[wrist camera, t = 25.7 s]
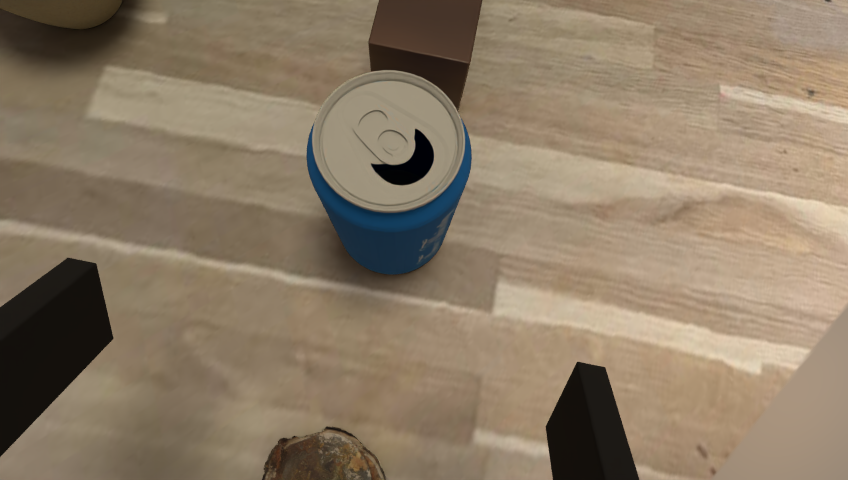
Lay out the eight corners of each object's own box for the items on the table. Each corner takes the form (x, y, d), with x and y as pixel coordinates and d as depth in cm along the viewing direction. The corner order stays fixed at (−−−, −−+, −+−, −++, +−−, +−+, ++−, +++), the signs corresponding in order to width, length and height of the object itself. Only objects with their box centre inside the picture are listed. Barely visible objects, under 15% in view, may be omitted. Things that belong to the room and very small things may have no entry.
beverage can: (387, 299, 28) (380, 260, 16) (317, 219, 29) (263, 128, 17) (467, 228, 29) (513, 146, 18) (397, 154, 30) (397, 29, 18)
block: (451, 137, 31) (469, 63, 23) (375, 121, 31) (367, 43, 23) (464, 69, 32) (486, -22, 24) (391, 54, 32) (389, -42, 24)
